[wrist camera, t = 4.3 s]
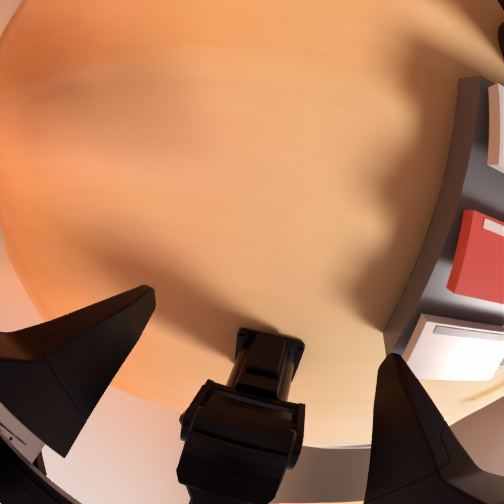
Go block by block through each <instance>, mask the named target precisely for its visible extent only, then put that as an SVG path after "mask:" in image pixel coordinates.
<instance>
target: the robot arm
mask: <svg viewBox="0 0 504 504" xmlns="http://www.w3.org/2000/svg"><path fill="white" fill-rule="evenodd" d="M155 306H156V301H155V290H154V288H153V287H150V286H147V285H142V286H139V287H136V288H134V289H131V290H129V291H126V292H123V293H121V294H118V295H116V296H113V297H110V298H108V299H105V300H103V301H100V302H97V303H95V304H92V305H90V306H87V307H85V308H82V309H79V310H77V311H74V312H72V313H69V314H68V315H67V314H66V315H64V316H61V317H59V318H56V319H53V320H51V321H48V322H45V323H41V324H38V325H35V326H32V327H28V328H25V329H21V330H18V331H14V332H0V503H1V504H81V503H80V502H78V501H77V500H76V499H74V498H73V497H71V496H70V495H69V494H67V493H66V492H65V491H63V490H62V489H61V488H60V487H58V486H57V485H56V484H55V483H53V482H52V481H51V480H50V479H49V478H47V477H46V470H45V466H44V461H43V457H42V452H41V449H42V448H43V446H44V445H45V444H46V445H47V446H49V447H50V448H51V449H52V450H54V451H55V452H57V453H58V454H59V455H61V456H62V457H63V458H65V457H66V455H67V454H68V452H69V450H70V449H71V447H72V445H73V443H74V442H75V440H76V438H77V437H78V435H79V433H80V431H81V430H82V428H83V426H84V425H85V423H86V421H87V419H88V418H89V416H90V415H91V413H92V411H93V409H94V408H95V406H96V405H97V403H98V402H99V400H100V398H101V397H102V395H103V394H104V392H105V390H106V389H107V387H108V386H109V384H110V383H111V381H112V379H113V378H114V376H115V375H116V373H117V372H118V370H119V369H120V367H121V366H122V364H123V363H124V361H125V360H126V358H127V356H128V355H129V353H130V352H131V350H132V349H133V348H134V346H135V345H136V343H137V341H138V340H139V338H140V336H141V334H142V332H143V330H144V329H145V327H146V325H147V323H148V321H149V319H150V317H151V315H152V313H153V312H154V310H155ZM243 333H244V334H243ZM298 346H300V347H298ZM304 348H305V344H304V343H303V342H300V341H296V340H291V339H286V338H282V337H277V336H273V335H269V334H265V333H260V332H256V331H252V330H248V329H244V328H241V329H239V331H238V333H237V343H236V354H235V364H234V367H233V369H232V372H231V374H230V377H229V379H228V382H227V384H226V386H225V385H222V384H219V383H216V382H214V381H212V380H209V379H208V380H207V381H206V383H205V385H202V387H201V389H200V390H199V392H198V393H197V395H196V396H195V398H194V399H193V401H192V403H191V404H190V406H189V407H188V408H187V409H186V410H185V412H184V413H183V414H182V415H181V416H180V419H179V421H180V423H181V425H182V427H181V435H180V436H181V437H180V438H181V440H182V441H185V444H184V447H183V451H182V454H181V457H180V461H179V464H178V467H177V470H176V472H177V477H178V481H179V483H181V484H183V485H186V487H187V490H188V493H189V495H190V502H189V504H268V503H269V502H270V501H272V500H273V499H274V498H275V496H276V493H277V491H278V489H279V486H280V484H281V481H282V479H283V476H284V474H285V471H286V469H288V470H292V469H293V468H294V466H295V464H296V462H297V460H298V457H299V455H300V451H301V448H302V443H303V436H304V421H305V404H302V403H299V404H297V403H292V402H287V399H288V394H289V389H290V384H291V382H292V380H293V378H294V375H295V373H296V370H297V368H298V365H299V362H300V360H301V357H302V354H303V351H304ZM364 504H504V477H503V476H500V475H496V474H492V473H488V472H486V471H483V470H481V469H480V468H479V467H478V466H477V465H476V464H475V463H474V461H473V460H472V459H471V457H470V456H469V455H468V453H467V452H466V450H465V449H464V448H463V446H462V445H461V444H460V442H459V441H458V439H457V438H456V437H455V435H454V433H453V432H452V430H451V429H450V427H449V426H448V424H447V423H446V421H445V420H444V418H443V416H442V415H441V413H440V412H439V410H438V409H437V407H436V406H435V404H434V403H433V401H432V399H431V398H430V396H429V395H428V393H427V392H426V391H425V389H424V388H423V386H422V385H421V383H420V382H419V380H418V379H417V377H416V376H415V374H414V373H413V372H412V370H411V369H410V367H409V366H408V365H407V363H406V362H405V360H404V359H403V358H402V356H401V355H400V354H398V353H392V352H391V353H389V354H388V355H387V357H386V358H385V359H384V361H383V362H382V364H381V365H380V367H379V369H378V375H377V384H376V392H375V400H374V410H373V430H372V444H371V455H370V465H369V472H368V481H367V487H366V493H365V499H364Z"/></svg>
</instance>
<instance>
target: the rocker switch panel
mask: <svg viewBox="0 0 504 504" xmlns="http://www.w3.org/2000/svg"><path fill="white" fill-rule="evenodd" d="M492 85H495V84H493V83H491V82H490V81H488V80H486V79H485V78H483V77H481V76H480V75H479V76H474V77H469V78H464V79H459V89H458V100H457V110H456V117H455V125H454V131H453V137H452V143H451V148H450V153H449V158H448V163H447V167H446V171H445V176H444V180H443V183H442V187H441V191H440V195H439V198H438V202H437V205H436V208H435V212H434V215H433V218H432V221H431V224H430V227H429V230H428V233H427V236H426V239H425V241H424V244H423V247H422V249H421V252H420V255H419V257H418V260H417V262H416V265H415V267H414V269H413V272H412V274H411V277H410V279H409V281H408V283H407V286H406V288H405V290H404V292H403V294H402V297H401V299H400V301H399V303H398V305H397V307H396V309H395V311H394V313H393V315H392V317H391V319H390V321H389V323H388V325H387V327H386V328H385V330H384V332H383V337H384V343H385V350H386V357H387V355H388V354H389V353H391V352H392V353H398V354H400V355H401V356H402V355H403V353H404V351H405V349H406V347H407V345H408V343H409V341H410V338H411V336H412V334H413V332H414V330H415V327H416V325H417V323H418V321H419V318H420V316H421V313H422V314H428V315H434V316H440V317H446V318H452V319H458V320H464V321H470V322H477V323H483V324H490V325H497V326H504V304H499V303H495V302H490V301H486V300H481V299H476V298H472V297H467V296H462V295H458V294H454V293H452V292H451V291H450V290H448V289H447V288H446V286H447V283H448V279H449V276H450V272H451V269H452V265H453V261H454V257H455V253H456V249H457V244H458V240H459V235H460V230H461V224H462V219H463V213H464V209H465V210H475V211H477V212H480V213H482V214H484V215H487V216H489V217H492V218H494V219H496V220H498V221H501V222H503V223H504V173H502V172H500V171H498V170H496V169H494V168H493V167H491V166H489V165H487V160H488V147H489V93H488V87H490V86H492ZM503 365H504V357H503V359H502V361H501V363H500V364H499V366H503Z"/></svg>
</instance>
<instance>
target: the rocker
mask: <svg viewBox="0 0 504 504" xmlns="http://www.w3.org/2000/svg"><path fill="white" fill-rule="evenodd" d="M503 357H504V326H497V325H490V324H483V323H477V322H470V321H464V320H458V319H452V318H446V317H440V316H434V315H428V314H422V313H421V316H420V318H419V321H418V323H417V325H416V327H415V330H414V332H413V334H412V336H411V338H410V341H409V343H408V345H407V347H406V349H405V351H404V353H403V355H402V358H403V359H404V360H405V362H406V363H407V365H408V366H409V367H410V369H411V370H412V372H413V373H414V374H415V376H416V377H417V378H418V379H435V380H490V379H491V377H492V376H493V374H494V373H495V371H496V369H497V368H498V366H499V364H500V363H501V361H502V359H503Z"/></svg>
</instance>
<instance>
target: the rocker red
mask: <svg viewBox="0 0 504 504" xmlns="http://www.w3.org/2000/svg"><path fill="white" fill-rule="evenodd" d="M446 288H447V289H448V290H450V291H451V292H452V293H454V294H458V295H462V296H467V297H472V298H476V299H481V300H486V301H490V302H495V303H499V304H504V223H503V222H501V221H498V220H496V219H494V218H492V217H489V216H487V215H484V214H482V213H480V212H477V211H475V210H465V209H464V213H463V219H462V224H461V230H460V235H459V240H458V244H457V249H456V253H455V257H454V261H453V265H452V269H451V272H450V276H449V279H448V283H447V286H446Z"/></svg>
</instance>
